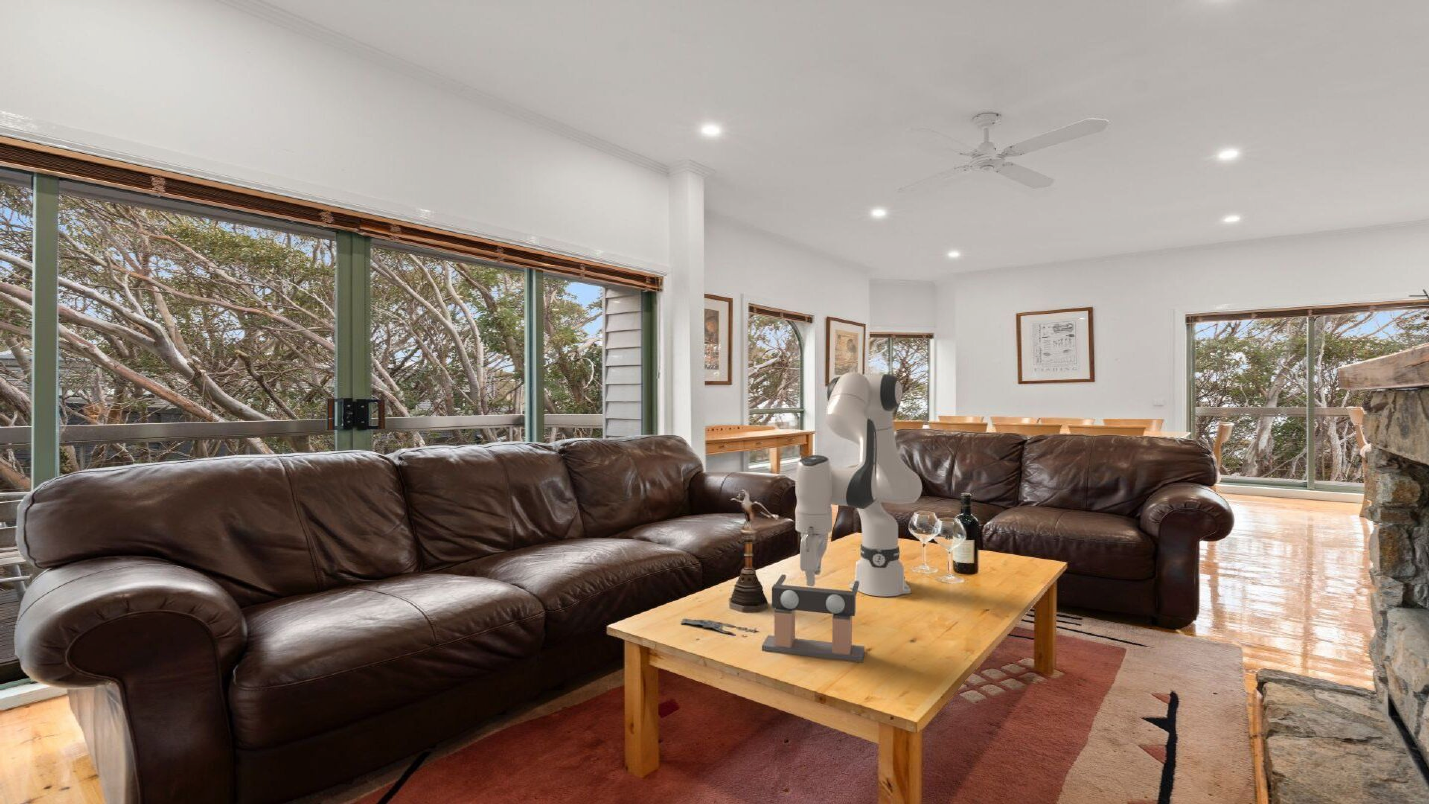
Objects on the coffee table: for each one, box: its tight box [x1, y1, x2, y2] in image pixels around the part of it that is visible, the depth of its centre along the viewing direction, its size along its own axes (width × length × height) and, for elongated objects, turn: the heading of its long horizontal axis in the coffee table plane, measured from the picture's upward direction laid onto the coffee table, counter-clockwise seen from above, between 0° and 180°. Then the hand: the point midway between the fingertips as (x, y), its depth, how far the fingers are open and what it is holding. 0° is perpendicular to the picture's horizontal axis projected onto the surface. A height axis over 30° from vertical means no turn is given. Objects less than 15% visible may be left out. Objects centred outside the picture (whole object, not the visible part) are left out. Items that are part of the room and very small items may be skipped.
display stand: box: [761, 608, 866, 663], centre depth 160 cm, size 7×24×10 cm, turn 73°
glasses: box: [771, 574, 859, 617], centre depth 164 cm, size 14×20×5 cm
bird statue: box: [728, 481, 781, 613], centre depth 195 cm, size 17×13×35 cm
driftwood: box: [680, 618, 757, 637], centre depth 175 cm, size 21×7×2 cm, turn 59°
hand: (813, 579), depth 159 cm, fingers open, 8 cm apart
